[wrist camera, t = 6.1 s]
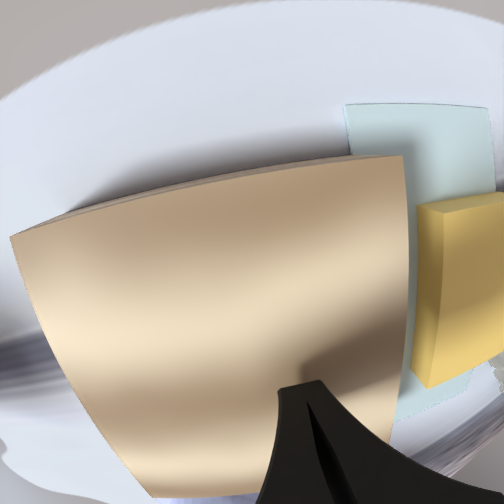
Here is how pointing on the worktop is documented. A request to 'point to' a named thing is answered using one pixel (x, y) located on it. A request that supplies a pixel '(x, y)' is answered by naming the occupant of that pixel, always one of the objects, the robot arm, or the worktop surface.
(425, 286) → the yellow rectangular block
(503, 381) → the egg carton
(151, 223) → the tan flat block
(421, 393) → the mat
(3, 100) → the worktop surface
